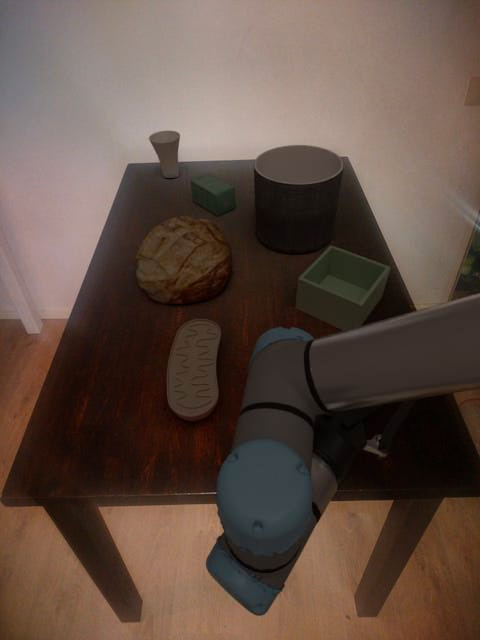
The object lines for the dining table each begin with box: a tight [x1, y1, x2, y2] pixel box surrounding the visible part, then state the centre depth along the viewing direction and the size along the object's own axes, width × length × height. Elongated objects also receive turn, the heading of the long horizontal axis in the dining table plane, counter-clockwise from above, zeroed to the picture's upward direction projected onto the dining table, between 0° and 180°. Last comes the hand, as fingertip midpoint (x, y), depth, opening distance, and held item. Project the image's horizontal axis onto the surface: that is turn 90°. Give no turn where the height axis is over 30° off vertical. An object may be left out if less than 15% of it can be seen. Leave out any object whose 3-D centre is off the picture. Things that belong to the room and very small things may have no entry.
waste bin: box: [295, 244, 392, 331], centre depth 86 cm, size 15×15×9 cm
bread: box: [134, 214, 235, 305], centre depth 94 cm, size 25×27×15 cm
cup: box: [148, 130, 181, 174], centre depth 133 cm, size 10×10×14 cm
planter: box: [253, 144, 345, 255], centre depth 102 cm, size 22×22×20 cm
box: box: [190, 172, 236, 217], centre depth 119 cm, size 7×14×8 cm, turn 40°
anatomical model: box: [166, 318, 222, 422], centre depth 74 cm, size 23×10×5 cm, turn 0°
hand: (387, 342), depth 57 cm, fingers closed on beverage can, 6 cm apart
